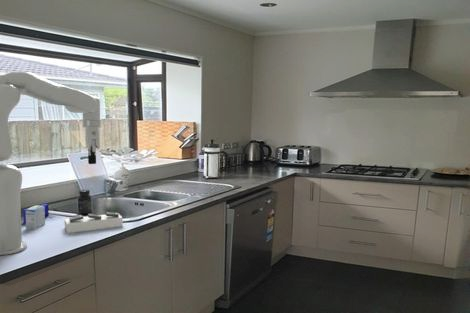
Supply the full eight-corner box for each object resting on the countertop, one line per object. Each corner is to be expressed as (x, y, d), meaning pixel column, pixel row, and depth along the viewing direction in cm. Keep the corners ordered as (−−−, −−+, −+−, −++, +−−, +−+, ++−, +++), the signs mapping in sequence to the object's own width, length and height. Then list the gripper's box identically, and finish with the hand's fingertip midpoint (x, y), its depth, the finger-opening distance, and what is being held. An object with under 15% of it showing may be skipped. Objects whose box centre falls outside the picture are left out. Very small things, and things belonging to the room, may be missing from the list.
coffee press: (214, 180, 292) (215, 140, 288) (197, 178, 300) (198, 139, 297) (227, 177, 306) (228, 139, 303) (211, 175, 315) (212, 138, 311)
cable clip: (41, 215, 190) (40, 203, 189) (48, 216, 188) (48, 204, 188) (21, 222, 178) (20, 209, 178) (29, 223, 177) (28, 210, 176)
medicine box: (35, 223, 176) (35, 205, 175) (45, 224, 176) (44, 205, 175) (25, 229, 168) (25, 209, 167) (36, 229, 168) (35, 209, 167)
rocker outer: (106, 216, 173) (107, 213, 173) (105, 214, 176) (105, 212, 176) (118, 216, 176) (118, 214, 175) (116, 214, 178) (117, 212, 178)
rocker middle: (88, 217, 169) (89, 215, 169) (87, 215, 172) (88, 213, 172) (101, 219, 172) (101, 216, 172) (99, 217, 174) (100, 214, 174)
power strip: (67, 233, 165) (67, 223, 164) (64, 227, 172) (64, 218, 171) (122, 226, 176) (122, 217, 176) (118, 221, 183) (118, 212, 182)
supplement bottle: (74, 214, 192) (73, 190, 191) (84, 211, 198) (84, 188, 197) (84, 216, 189) (84, 192, 188) (95, 213, 196) (94, 189, 194)
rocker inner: (70, 222, 166) (70, 219, 165) (69, 220, 168) (69, 217, 168) (83, 218, 168) (82, 216, 168) (82, 216, 171) (81, 214, 171)
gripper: (103, 124, 174) (103, 165, 176) (97, 123, 187) (97, 161, 189) (85, 124, 171) (86, 166, 173) (80, 123, 183) (81, 162, 186)
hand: (92, 163), depth 181 cm, fingers closed
